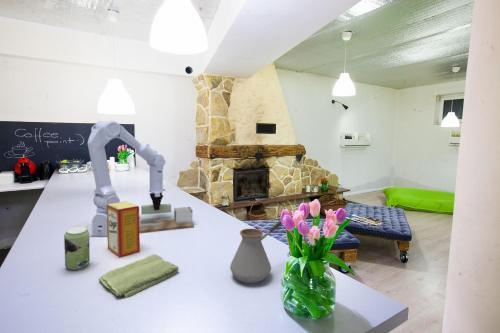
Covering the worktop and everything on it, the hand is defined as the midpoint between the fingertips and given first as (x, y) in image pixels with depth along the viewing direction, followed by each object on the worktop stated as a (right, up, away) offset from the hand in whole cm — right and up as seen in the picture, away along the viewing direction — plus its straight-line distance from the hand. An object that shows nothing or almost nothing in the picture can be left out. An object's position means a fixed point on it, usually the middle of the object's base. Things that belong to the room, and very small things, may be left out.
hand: (156, 209), depth 124 cm
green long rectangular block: (0, -2, 0) cm, 2 cm away
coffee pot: (+48, -11, -46) cm, 67 cm away
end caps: (+7, -5, -8) cm, 12 cm away
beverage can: (-6, -10, -47) cm, 48 cm away
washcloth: (+14, -11, -52) cm, 55 cm away
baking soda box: (+1, -9, -34) cm, 36 cm away
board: (+7, -6, -8) cm, 12 cm away
